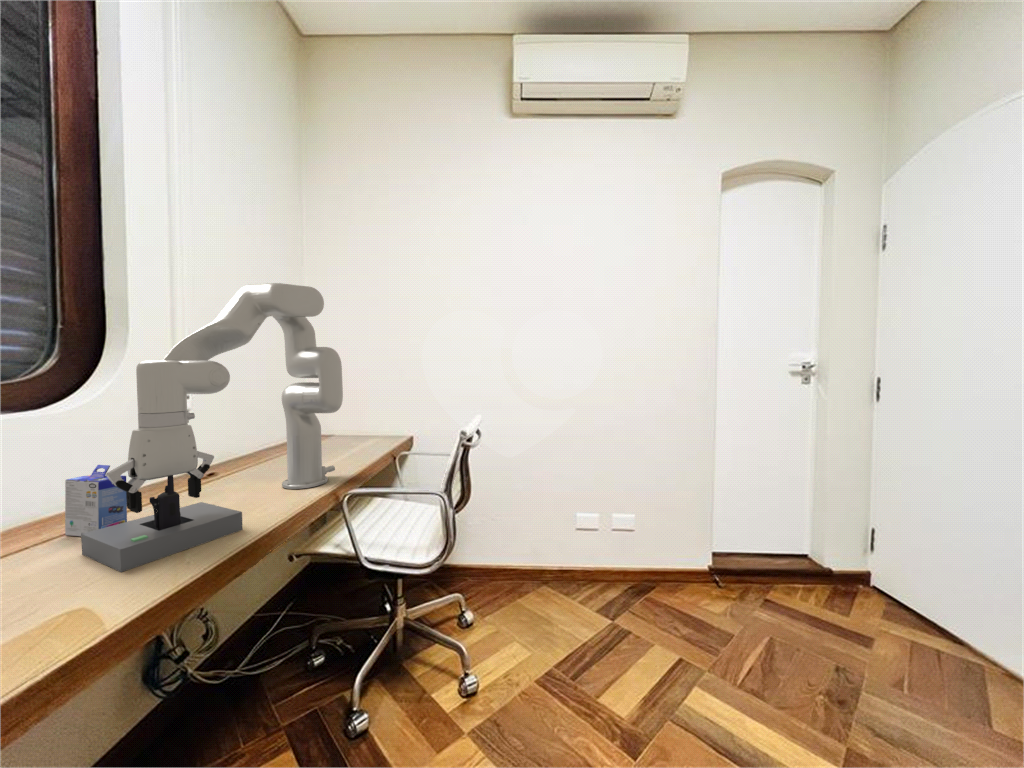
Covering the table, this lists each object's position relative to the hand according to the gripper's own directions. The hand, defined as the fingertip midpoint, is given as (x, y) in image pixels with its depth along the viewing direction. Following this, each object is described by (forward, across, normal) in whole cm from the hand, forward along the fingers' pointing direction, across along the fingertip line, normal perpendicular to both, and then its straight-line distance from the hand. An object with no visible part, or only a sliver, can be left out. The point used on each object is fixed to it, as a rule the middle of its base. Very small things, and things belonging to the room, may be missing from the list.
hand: (166, 503), depth 80 cm
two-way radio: (+8, 0, 0) cm, 8 cm away
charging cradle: (+8, 0, 0) cm, 8 cm away
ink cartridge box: (+8, +4, -20) cm, 22 cm away
